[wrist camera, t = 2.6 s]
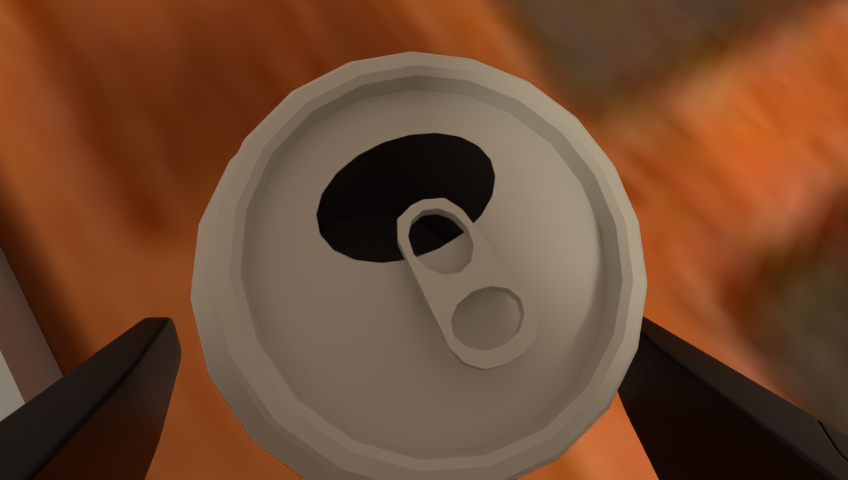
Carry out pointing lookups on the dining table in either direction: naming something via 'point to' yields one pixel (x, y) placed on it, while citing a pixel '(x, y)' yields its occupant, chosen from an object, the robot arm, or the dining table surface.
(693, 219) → the dining table surface
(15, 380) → the tray
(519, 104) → the can
